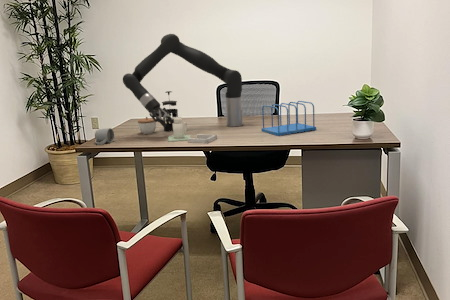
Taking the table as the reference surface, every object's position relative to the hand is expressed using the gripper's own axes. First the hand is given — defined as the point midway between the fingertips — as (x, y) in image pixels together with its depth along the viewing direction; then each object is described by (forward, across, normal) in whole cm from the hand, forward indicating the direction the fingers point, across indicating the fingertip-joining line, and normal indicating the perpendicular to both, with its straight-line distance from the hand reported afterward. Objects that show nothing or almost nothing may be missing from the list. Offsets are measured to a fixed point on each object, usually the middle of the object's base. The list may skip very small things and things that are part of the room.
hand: (169, 124), depth 243 cm
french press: (-3, +23, +14) cm, 27 cm away
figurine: (+9, 0, +1) cm, 9 cm away
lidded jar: (-10, +11, +21) cm, 26 cm away
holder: (+20, -1, -9) cm, 21 cm away
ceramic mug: (-16, -17, +28) cm, 36 cm away
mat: (+9, 0, +2) cm, 9 cm away
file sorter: (+46, +31, -36) cm, 66 cm away
